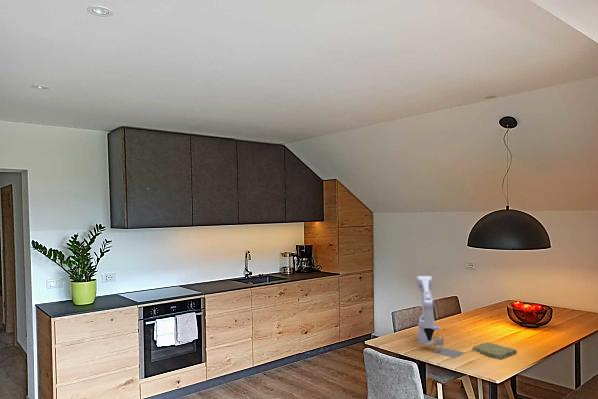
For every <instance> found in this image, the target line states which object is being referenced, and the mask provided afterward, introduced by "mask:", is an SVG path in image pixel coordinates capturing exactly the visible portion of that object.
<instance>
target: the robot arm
mask: <svg viewBox="0 0 598 399" xmlns="http://www.w3.org/2000/svg"><path fill="white" fill-rule="evenodd" d="M416 285H417V286H416V287H417V289H418V290H419V291H420V293H421V305H422V314H421V315H420V316H419V317H418V324H417V328H418V330H417V341H416V342H417V343H420V344H425V345H433V344H434V332H435V331H437V332H440V331H441V327H440V326H437V325H436V322H435V316H434V308H435V301H434V299H433V295H432V292H431V291H430V290H431V289H432V288H433V287H432V286H433V276H432V275H417V276H416Z"/></svg>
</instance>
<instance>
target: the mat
mask: <svg viewBox="0 0 598 399" xmlns="http://www.w3.org/2000/svg"><path fill="white" fill-rule="evenodd" d="M430 353H432V354H435V355H440V356H445V357H449V358H454V359H456V358H457V357H460V356H462V355H463V354H465V352H463V351H459V350H456V349H455V350H454V349H449V348H446V347H444V350H443V351H441V352H439V353H436V352H435V351H434V350H433V351H431V352H430Z"/></svg>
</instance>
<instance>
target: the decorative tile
mask: <svg viewBox="0 0 598 399" xmlns="http://www.w3.org/2000/svg"><path fill="white" fill-rule="evenodd" d="M471 352H475V353H479V355H483V356H485V357H489V358H492V359H496V360H500V361H502V360H505V359H507V358H510V357H511V356H515V355H517V353H518V350H517V349H516V348H511V347H507V346H503V345H499V344H495V343H491V342H488V341H487V342H481V343H480V344H476V345H474V346H473V347H472V349H471Z"/></svg>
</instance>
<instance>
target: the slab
mask: <svg viewBox="0 0 598 399" xmlns="http://www.w3.org/2000/svg"><path fill="white" fill-rule="evenodd" d="M433 341H434V343H433V349H434V350H433V351H435V352H436V353H439V352H441V351H443V350H444V348H445V347H444V337H443V336H437V337H435V338H433Z"/></svg>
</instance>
